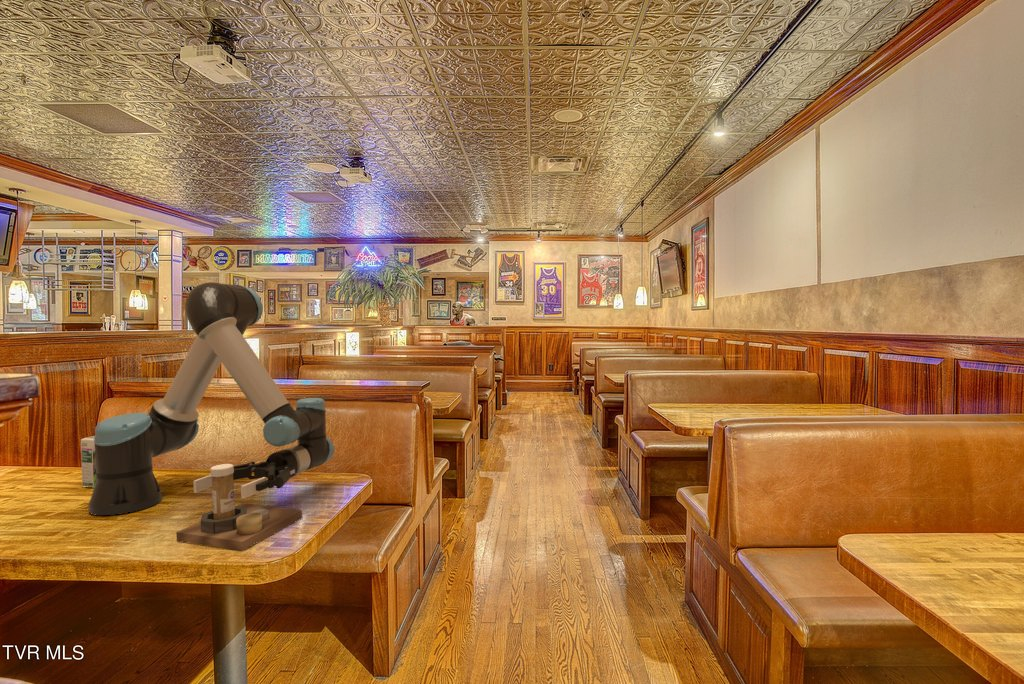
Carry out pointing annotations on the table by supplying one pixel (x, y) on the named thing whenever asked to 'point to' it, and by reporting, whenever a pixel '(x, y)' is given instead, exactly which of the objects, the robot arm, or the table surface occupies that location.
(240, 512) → the carrier board
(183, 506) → the table surface
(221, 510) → the sprinkles bottle
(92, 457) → the syrup box
